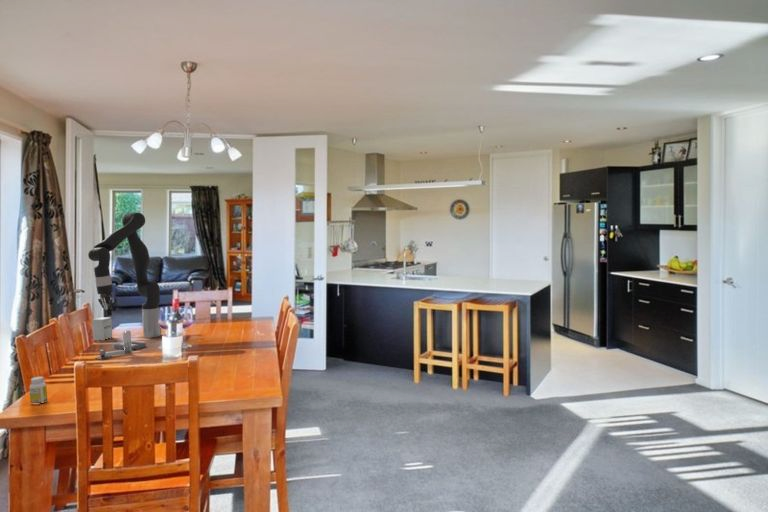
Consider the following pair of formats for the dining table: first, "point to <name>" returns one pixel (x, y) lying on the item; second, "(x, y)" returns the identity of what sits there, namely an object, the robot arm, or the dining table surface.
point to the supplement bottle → (38, 390)
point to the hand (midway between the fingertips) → (109, 315)
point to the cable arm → (126, 350)
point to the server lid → (133, 345)
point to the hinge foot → (103, 357)
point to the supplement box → (102, 328)
